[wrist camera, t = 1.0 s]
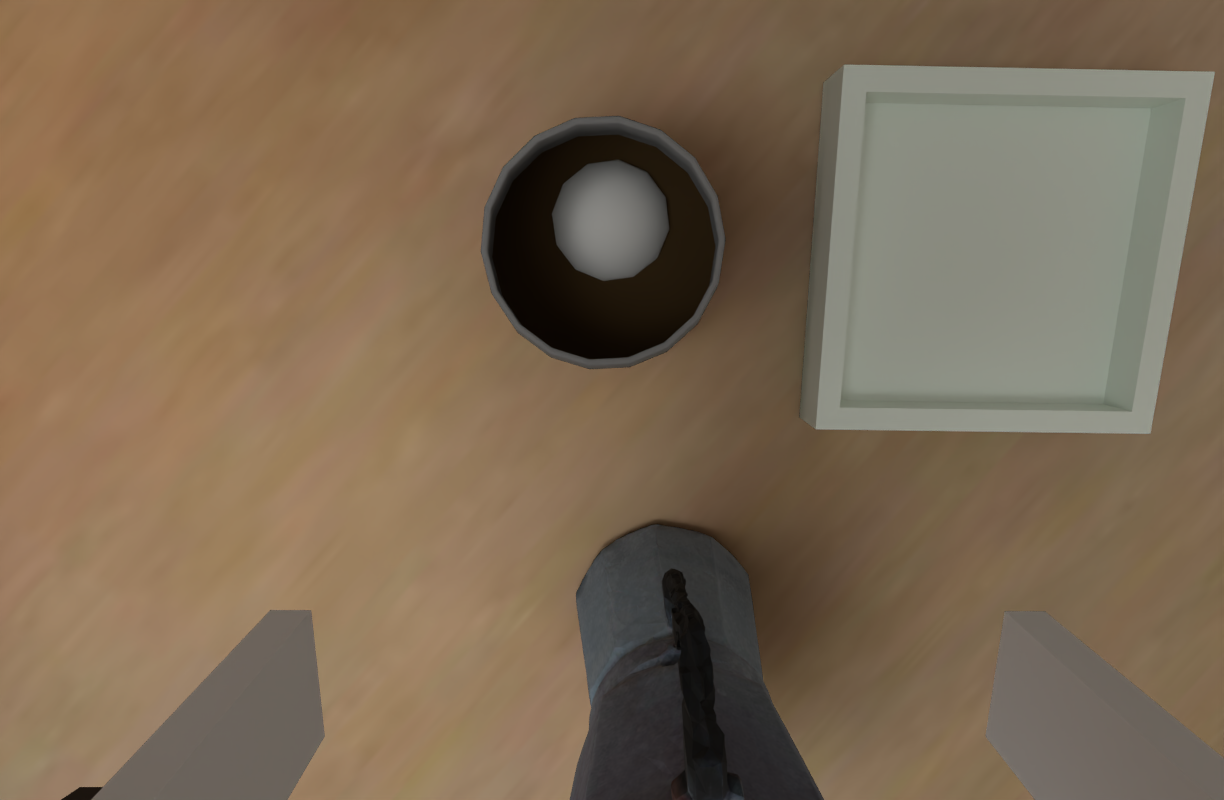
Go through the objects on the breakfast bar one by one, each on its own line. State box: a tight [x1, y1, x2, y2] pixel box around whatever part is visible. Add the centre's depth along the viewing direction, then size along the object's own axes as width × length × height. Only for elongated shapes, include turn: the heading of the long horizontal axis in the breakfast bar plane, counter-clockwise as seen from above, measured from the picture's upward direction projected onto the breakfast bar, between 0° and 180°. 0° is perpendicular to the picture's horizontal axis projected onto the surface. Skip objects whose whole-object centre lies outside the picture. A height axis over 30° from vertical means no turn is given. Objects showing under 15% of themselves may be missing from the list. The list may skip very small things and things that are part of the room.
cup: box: [481, 116, 726, 369], centre depth 25 cm, size 10×9×10 cm
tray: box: [799, 65, 1215, 434], centre depth 29 cm, size 15×15×2 cm
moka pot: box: [570, 524, 824, 800], centre depth 23 cm, size 10×15×20 cm, turn 9°
